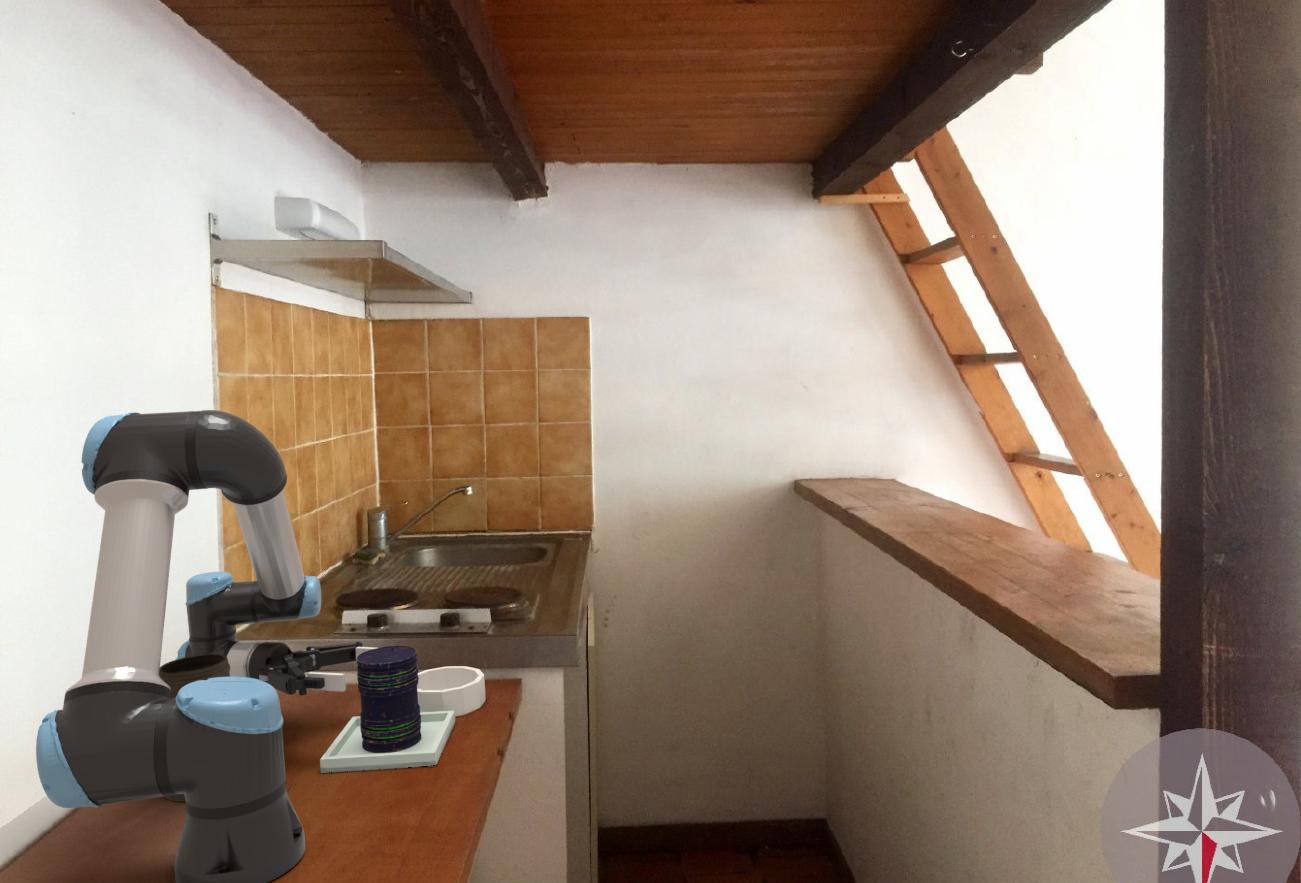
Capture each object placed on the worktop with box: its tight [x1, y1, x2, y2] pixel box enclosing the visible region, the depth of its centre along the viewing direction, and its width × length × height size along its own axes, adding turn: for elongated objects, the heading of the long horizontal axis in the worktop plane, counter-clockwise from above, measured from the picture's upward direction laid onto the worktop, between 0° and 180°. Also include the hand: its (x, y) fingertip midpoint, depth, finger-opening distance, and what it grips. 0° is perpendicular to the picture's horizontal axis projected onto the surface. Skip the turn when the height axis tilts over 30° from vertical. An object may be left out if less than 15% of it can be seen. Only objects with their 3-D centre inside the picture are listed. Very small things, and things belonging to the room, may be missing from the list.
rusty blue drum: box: [356, 645, 421, 753], centre depth 147 cm, size 10×10×15 cm
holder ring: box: [417, 665, 487, 718], centre depth 166 cm, size 14×14×5 cm
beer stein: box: [159, 654, 230, 803], centre depth 135 cm, size 15×11×20 cm
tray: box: [319, 711, 456, 774], centre depth 147 cm, size 18×18×2 cm
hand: (368, 668), depth 148 cm, fingers open, 13 cm apart
